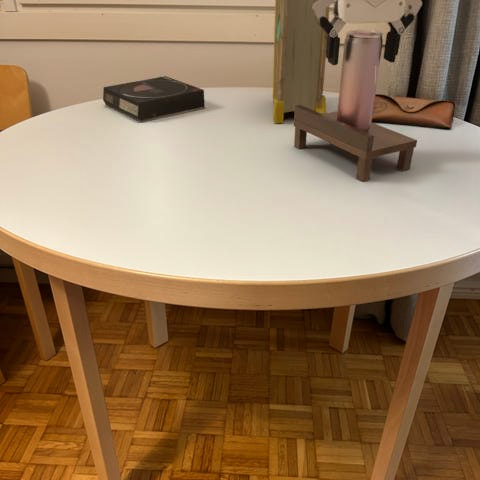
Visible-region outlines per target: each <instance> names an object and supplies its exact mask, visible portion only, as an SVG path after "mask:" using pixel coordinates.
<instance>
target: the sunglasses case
mask: <svg viewBox="0 0 480 480" xmlns="http://www.w3.org/2000/svg"><path fill="white" fill-rule="evenodd" d="M455 109H456V103H455V102H454V101H451V100H450V99H449V100H448V99H439V100H437V99H425V98H415V97H404V96H392V95H387V94H381V93H376V94H375V101H374V108H373V115H372V122H382V123H388V124H398V125H405V126H411V127H413V126H414V127H421V128H448V129H449V128H452V127H453V123H454V115H455V112H456V111H455Z"/></svg>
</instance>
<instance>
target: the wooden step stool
mask: <svg viewBox="0 0 480 480" xmlns="http://www.w3.org/2000/svg"><path fill="white" fill-rule="evenodd" d="M337 111H338V110H336V111H331V112H326V113H325V114H321V113H318V112H316V111H314V110H311V109H309V108H306V107H304V106H302V105H297V106H295V111H294V112H293V113H294V116H293V127H294V140H293V141H294V142H293V147H294V148H296V149H299V150H300V149H301V150H302V149H305V148H306V147H307V133H308V134H310V135H312V136H315V137H316V138H318V139H321V140H323V141H325V142H327V143H329V144H331V145H333V146H336V147H338V148H340V149H342V150H343V151H346V152H348V153H350V154H352V155H354V156H357V157H358V160H357V169H356V175H355V179H356V180H358V181H360V182H366V181H370V179H371V174H372V173H371V171H372V167H373V158H377V157H378V158H379V157H381V156H382V157H383V156H385V155H390V154H394V153H398V158H397V163H396V169H398V168H399V169H398V170H400V169H401V170H400V171H402V170H404V171H407V170H406V169H408V170H410V169H411V166H412V160H413V155H414V149H415V148H416V147H417V144H418V140H417V139H415V138H413V137H410V136H407V135H405V134H403V133H401V132H397V131H395V130H393V129H390V128H388V127H385V126H382V125H380V124H376V123H374V122H373V121H372V122H371V127H370V129H369V130H368V131H367V132H364V131H361V130H359V129H357V128H354V127H352V126H349V125H347V124H345V123H342V122H340V121H338V120H337ZM409 168H410V169H409Z"/></svg>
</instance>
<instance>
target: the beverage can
mask: <svg viewBox="0 0 480 480" xmlns="http://www.w3.org/2000/svg"><path fill="white" fill-rule="evenodd" d="M383 43H384V40H383V32H382V31H378V30H374V29H373V30H372V29H353V30H348V31H347V32H346V36H345V38H344V42H343V53H342V63H341V72H340V82H339V83H340V84H339V93H338V103H337V110H336V111H337V120H338V121H340V122H342V123H345V124H347V125H349V126H352V127H354V128H357V129H359V130H361V131H364V132H367V131H368V130H369V129H370V127H371V122H372V123H373V121H372V115H373V108H374V101H375V94H377V86H378V80H379V79H378V78H379V70H380V64H381V58H382V49H383Z"/></svg>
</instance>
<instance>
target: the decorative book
mask: <svg viewBox="0 0 480 480" xmlns="http://www.w3.org/2000/svg"><path fill="white" fill-rule="evenodd" d="M274 1H275V3H274V5H275V6H274V28H273V70H272V71H273V72H272V101H273V113H272V115H273V116H272V117H273V123H274V124H283V123H284V116H285V115H284V114H285V113H289V112H295V106H297V105H302V106H304V107H306V108H309V109H311V110H314V111H316V112H318V113H321V114H325V113H327V101H326V96H325V95H324V86H325V85H324V84H325V72H326V71H325V70H326V59H327V58H326V45H327V34H326V33H325V31H324V30H323V29H322V28H321V26H320V25H319V24H318V22H317V18H316V16H315V14H314V11H313V8H312V5H313V4H314V3H315V2H317V1H318V0H274ZM325 15H326V18H327V19H328V20H329V21H330V6H328V7H327V8H326V9H325Z"/></svg>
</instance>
